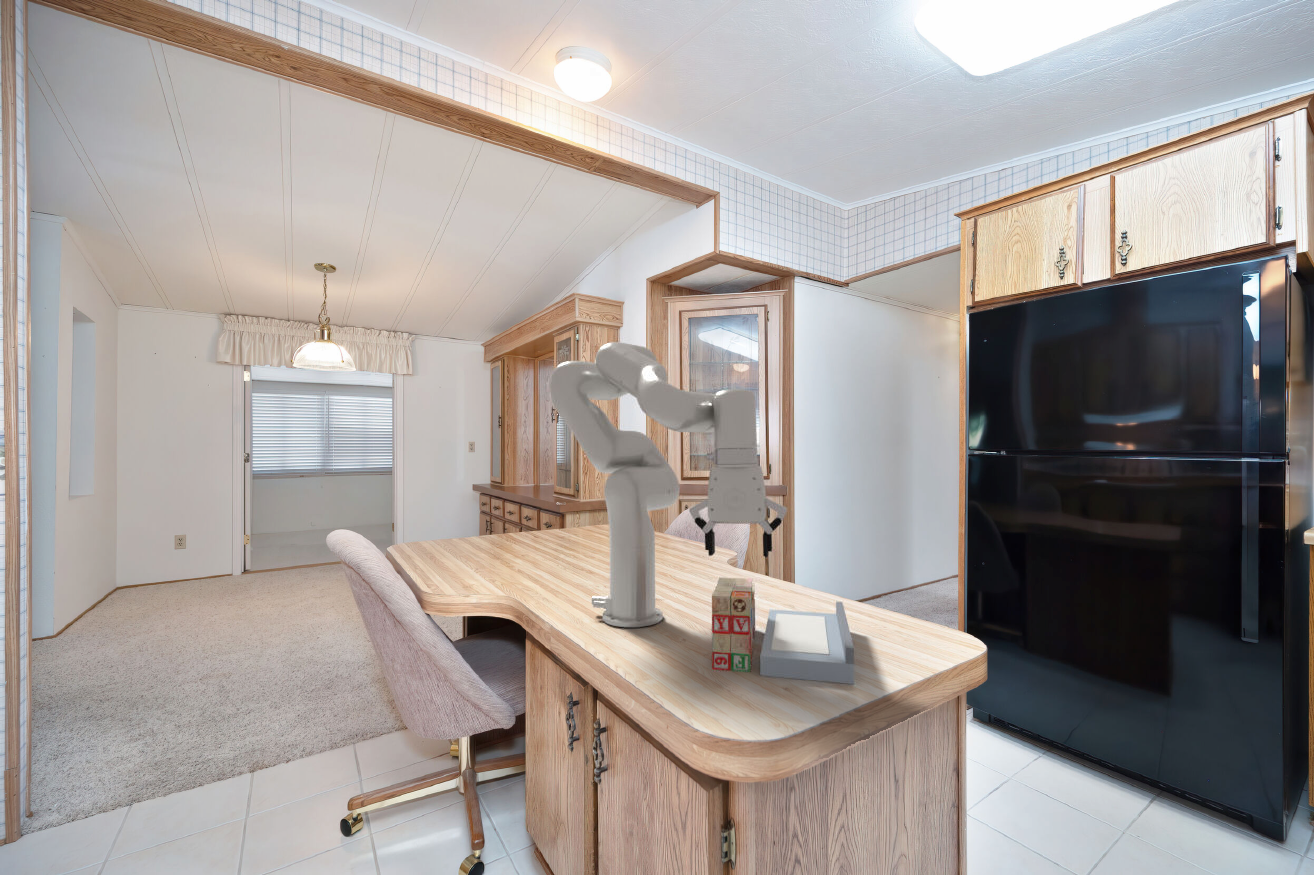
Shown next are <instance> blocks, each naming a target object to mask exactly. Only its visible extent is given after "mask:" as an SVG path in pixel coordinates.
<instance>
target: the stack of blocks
mask: <svg viewBox="0 0 1314 875" xmlns="http://www.w3.org/2000/svg"><path fill="white" fill-rule="evenodd" d="M711 634H712V635H711V637H712V642H711V643H712V649H711V670H715V671H716V670H717V671H726V672H727V671H728V672H731V671H732V672H742V673H751V669H752V668H751V667H752V663H753V657H754V641H755V637H756V599H755V582H753V578H740V577H739V578H738V577H718V580H717V584H716V586H715V587H714V590H713V592H712V594H711Z"/></svg>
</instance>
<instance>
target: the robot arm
mask: <svg viewBox="0 0 1314 875" xmlns="http://www.w3.org/2000/svg"><path fill="white" fill-rule="evenodd" d="M594 358H595V360H594V362H590V361H583V360H569V361H564V362H561V363H560V364H558V365H557V366H556V367H554V369H553V371H552V372H551V373H552V374H551V376H550V382H549V383H550V384H549V385H550V386H549V388H550V389H549V390H550V398H551V400H552V404H553V407H554V408H555V411H556V412H557V414H558V415H559V416H560V418H561V419H562V420H563V422H564V423H565V425H567V427H568V428H569V430H570V431H571V432H572V434H573V436H574V437H575V439H576V440H577V442H578V444H579V445H580V447H581V450H583V452H584V454H585V455H586V457H587V459H588V460H589V462H590V463H591V465H592V466H593V467H594V469H595V470H597V472H599V473H602V474H610V475H608V477H607V479H606V480H605V484H604V488H603V490H604V492H603V493H604V501H605V506H606V510H607V511H606V512H607V516H608V529H609V530H608V531H609V532H608V534H609V536H608V538H609V540H608V541H609V543H608V544H609V595H606V596H602V595H600V596H599V595H593V596H592V598H591V605H592V607H593V608H599V609H600V608H602V609H604V611H603V612H602V621H603V622H604V623H606V624H608V625H610V626H614V627H621V628H641V627H648V626H652V625H655V624H658V623H660V622H661V621H662V620H663V618H664V616H663V615H664V614H663V611H662V610H661V609H659V608H658V607H656V538H655V537H656V536H655V529H654V525H653V523H652V520H651V518H650V516H649V514H648V513H649V511H657V510H663V509H667V508H670V507H671V506H673V505H674V504H675V503H676V502H677V501H678V498H679V495H680V491H681V490H680V482H679V478H678V476H677V475H676V473H675V471H674V470H673V468H672V466H671V465H670V464H669V462H668V461H667V460H666V458H665V456H664V455H663V453H662V452H661V450H659V447H658V446H657V445H656V444H655V443H654V441H653V440H652V439H651V438H650V437H649V436H648V435H646V434H645V433H643V432H640V431H637V430H623V429H622V430H621V429H618V428H617V427H615V426H614V425H613V423H612V422H611V420H610V419H609V418H608V415H607V414H606V413H605V412H604V410H602V409H601V408H600V407H599V406H598V405H597V404H596V403H594V402H593V401H591V400H594V401H595V400H597V401H612V400H616V399H618V398H621V397H623V396H625V395H627V394H629V395H631V396H633V397H634V398H636V401H637V403H638V406H639V408H640V409H641V411H642V413H644V414H645V415H646V416H648V417H649V418H650V419H652V420H654V421H655V422H656V423H658V424H660V425H661V426H663V427H665V428H666V429H669V430H671V431H673V432H678V433H699V434H700V433H701V434H702V433H703V434H704V433H707V434H708V433H709V434H710V433H711V434H712V433H713V434H714V437H713V438H714V449H713V451H712V452H707V453H706V461H711V462H713V464H714V466H712V467H710V469H709V470H710V471H709V475H708V485H707V498H706V499H705V500H703V501H701V502H699V503H696V504H695V505H693V506H691V507H690V508H689V510H688V511H689V513H690V515H691V517H692V519H693V520H694V523H695V525H696V526H698V528H699V529H700V530H701V531H702V532H703V533H704V549H705V551H708V552H707V553H708V557H709V556H710V557H712V556H713V555H714V554H715V552H716V541H715V531H714V529H713V528H714V527H715V525H716V524H728V525H729V524H730V525H731V524H733V525H734V524H737V525H739V524H740V525H741V524H742V525H743V524H746V525H747V524H749V525H750V524H751V525H754V524H758V525H759V526H760V528H762V530H763V534H762V552H763V553H762V555H763V557H764V558H768V557H769V552H772V553H773V532H774V531H775V530H776V529H777V528H778V527H779V526H780V525H781V524H782V522H783V520H784V518H785V516H786V514H787V512H788V508H787V507H786V506H783V505H782V504H780V503H778V502H776V501H774V500H772V499H770V498H767V497H766V487H765V485H766V484H765V478H764V473H763V469H762V466H760V465H758V444H757V443H758V442H757V440H758V438H757V437H758V434H757V406H756V405H757V403H756V396H755V393H754V392H753V390H749V389H743V388H741V389H740V388H735V389H734V388H732V389H731V388H730V389H724V390H723V389H722V390H720V391H717V392H716V393H710V392H700V391H691V390H683V389H681V388H680V389H679V388H678V387H676V386H673V385H672V384H670V383H668V372H667V370H666V367H664V365H663V364H661V363H660V362H658V359H657V357H656V355H655V354H654V352H653V351H652V350H650V349H649V348H648V347H645V346H641V345H637V344H631V343H626V342H619V341H615V342H614V341H612V342H608V343H606V344H603V345H602V346H601V347H600V348H599V349H598V351H596V355H595V357H594ZM706 508H707V517H708V521H706V520H705V519H704V518H702V516H701V514H700V511H702V510H703V509H706ZM767 508H770V509H771V510H773V511H776V513H777V514H776V516H775V518H774V519H773V520H772V521H771V522H770V521H768V519H767V518H766V517H767Z"/></svg>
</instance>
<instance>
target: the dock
mask: <svg viewBox="0 0 1314 875" xmlns="http://www.w3.org/2000/svg"><path fill="white" fill-rule="evenodd" d="M845 611H846V610H845V607H844V603H843V601H835V613H829V612H814V611H813V612H812V611H801V610H799V611H798V610H785V609H769V611H768V616H767V622H766V625H765V626H766V627H765V632H764V636H763V640H762V646H761V652H760V656H759V657H760V660H759V661H760V665H759V666H760V667H759V668H760V676H765V677H773V678H786V679H795V680H804V681H805V680H806V681H818V682H825V683H826V682H828V683H837V684H848V685H855V647H854V643H853V639H852V634H851V631H850V627H849V624H848V623H849V622H848V618H847V615H846V612H845Z"/></svg>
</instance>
